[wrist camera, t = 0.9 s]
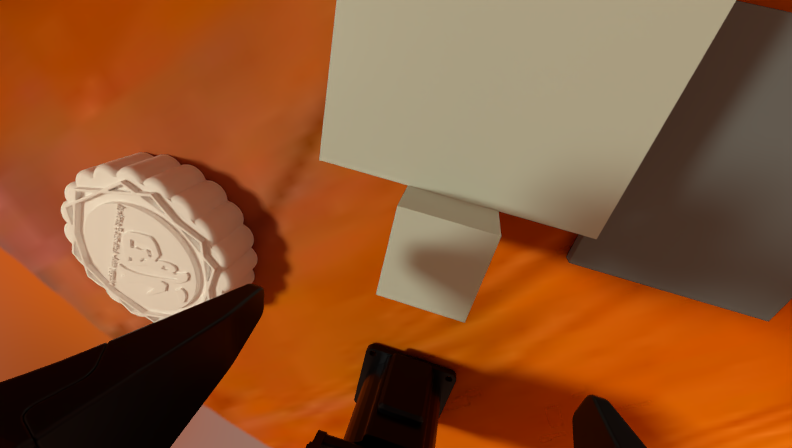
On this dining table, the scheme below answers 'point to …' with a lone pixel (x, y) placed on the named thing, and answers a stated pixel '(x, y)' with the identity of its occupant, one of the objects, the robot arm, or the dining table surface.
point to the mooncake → (157, 234)
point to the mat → (715, 180)
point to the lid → (501, 118)
